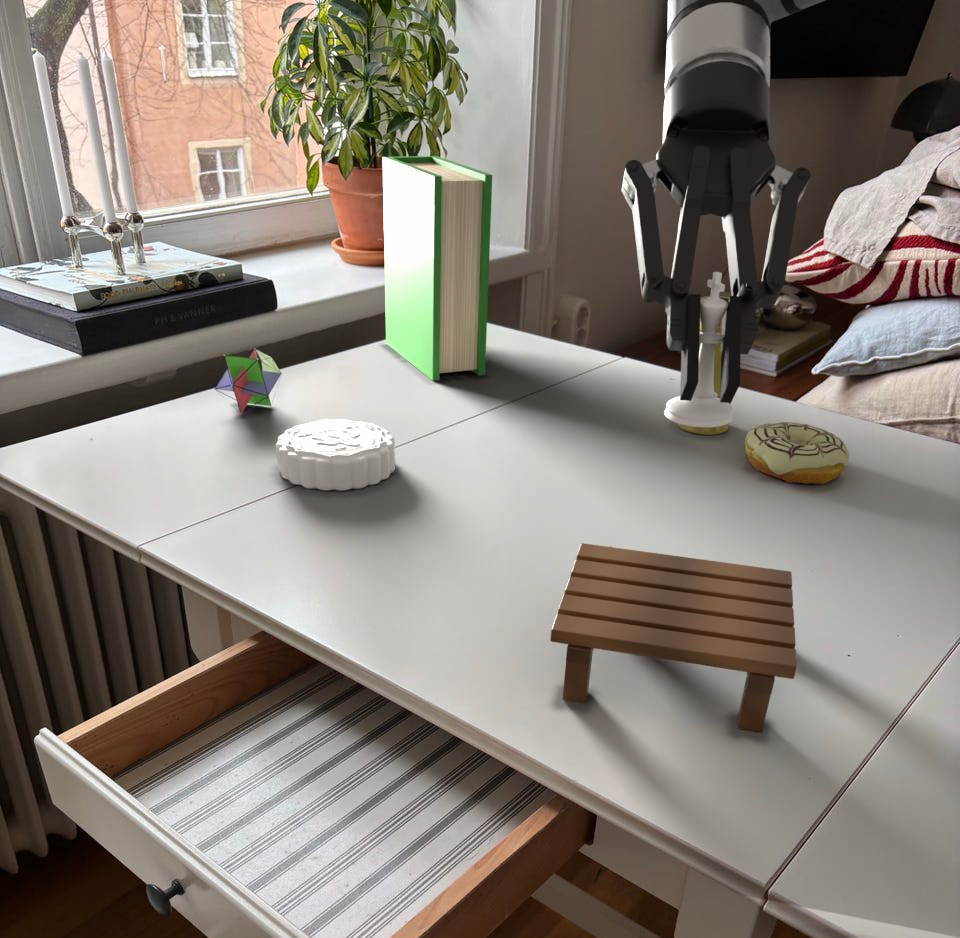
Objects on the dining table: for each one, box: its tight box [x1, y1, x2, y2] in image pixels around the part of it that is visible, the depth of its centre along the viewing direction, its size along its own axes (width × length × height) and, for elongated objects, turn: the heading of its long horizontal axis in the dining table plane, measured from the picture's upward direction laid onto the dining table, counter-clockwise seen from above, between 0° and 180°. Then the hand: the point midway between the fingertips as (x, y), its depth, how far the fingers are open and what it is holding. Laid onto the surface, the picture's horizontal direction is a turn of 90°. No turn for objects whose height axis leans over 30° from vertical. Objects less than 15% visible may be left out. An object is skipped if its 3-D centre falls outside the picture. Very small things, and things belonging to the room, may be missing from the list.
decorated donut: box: [744, 421, 850, 485], centre depth 105 cm, size 10×11×4 cm
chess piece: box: [663, 271, 734, 427], centre depth 69 cm, size 5×5×10 cm
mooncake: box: [275, 418, 396, 492], centre depth 101 cm, size 12×12×4 cm
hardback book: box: [382, 155, 493, 382], centre depth 129 cm, size 18×7×24 cm, turn 24°
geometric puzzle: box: [213, 347, 283, 415], centre depth 115 cm, size 7×7×8 cm
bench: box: [550, 542, 798, 733], centre depth 72 cm, size 16×14×6 cm
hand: (709, 391), depth 67 cm, fingers closed on chess piece, 2 cm apart
